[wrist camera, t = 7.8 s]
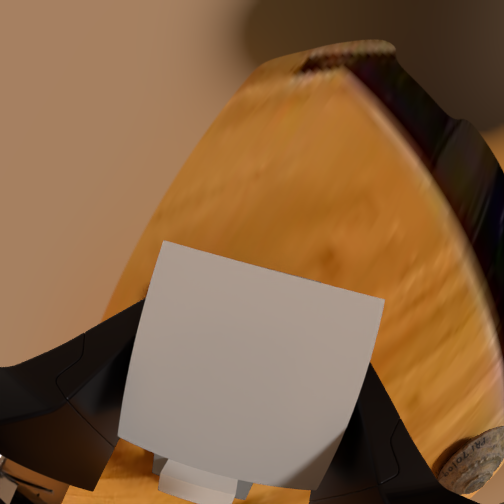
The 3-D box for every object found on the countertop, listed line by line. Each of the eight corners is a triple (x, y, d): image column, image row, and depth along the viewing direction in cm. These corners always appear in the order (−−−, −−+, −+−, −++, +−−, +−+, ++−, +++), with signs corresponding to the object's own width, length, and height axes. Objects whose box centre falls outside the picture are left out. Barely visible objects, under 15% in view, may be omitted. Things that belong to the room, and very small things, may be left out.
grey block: (282, 387, 14) (316, 490, 4) (199, 364, 15) (117, 435, 5) (306, 306, 15) (384, 299, 5) (222, 283, 16) (163, 240, 6)
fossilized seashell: (455, 439, 16) (501, 458, 9) (490, 402, 20) (527, 413, 13) (423, 497, 16) (458, 518, 9) (464, 459, 19) (495, 473, 13)
